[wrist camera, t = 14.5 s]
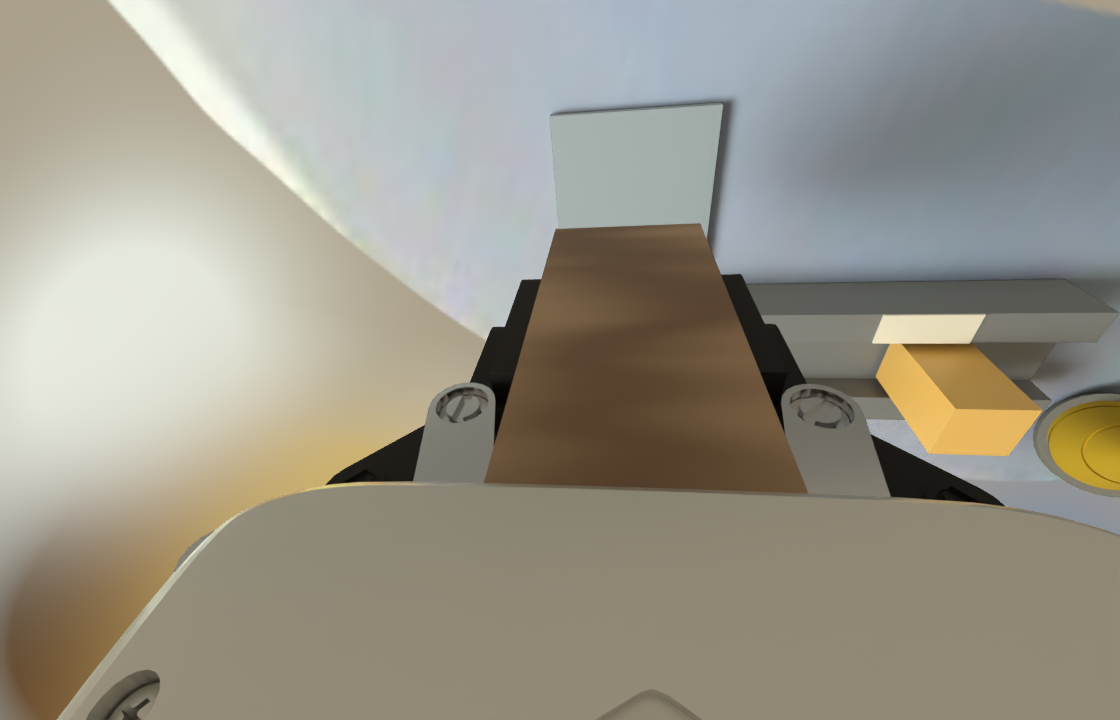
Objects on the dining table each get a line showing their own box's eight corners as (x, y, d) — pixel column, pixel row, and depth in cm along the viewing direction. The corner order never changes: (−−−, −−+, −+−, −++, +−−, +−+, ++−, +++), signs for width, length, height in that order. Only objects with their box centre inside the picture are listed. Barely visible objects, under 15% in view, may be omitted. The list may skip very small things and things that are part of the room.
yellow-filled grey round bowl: (1003, 453, 29) (1043, 485, 21) (1051, 376, 27) (1113, 378, 19) (1124, 501, 26) (1224, 560, 18) (1184, 417, 24) (1320, 439, 16)
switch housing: (1063, 279, 21) (1121, 313, 19) (995, 383, 25) (1036, 424, 23) (669, 285, 24) (674, 317, 21) (662, 380, 27) (666, 415, 25)
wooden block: (700, 223, 12) (847, 590, 4) (687, 342, 15) (768, 719, 7) (555, 229, 13) (459, 567, 5) (565, 343, 15) (511, 695, 7)
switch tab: (962, 334, 21) (1043, 410, 17) (939, 377, 23) (1008, 455, 19) (893, 334, 22) (956, 409, 18) (875, 376, 23) (928, 453, 19)
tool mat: (720, 102, 18) (723, 104, 18) (702, 261, 23) (703, 266, 22) (551, 114, 19) (549, 116, 19) (563, 265, 24) (562, 269, 23)
